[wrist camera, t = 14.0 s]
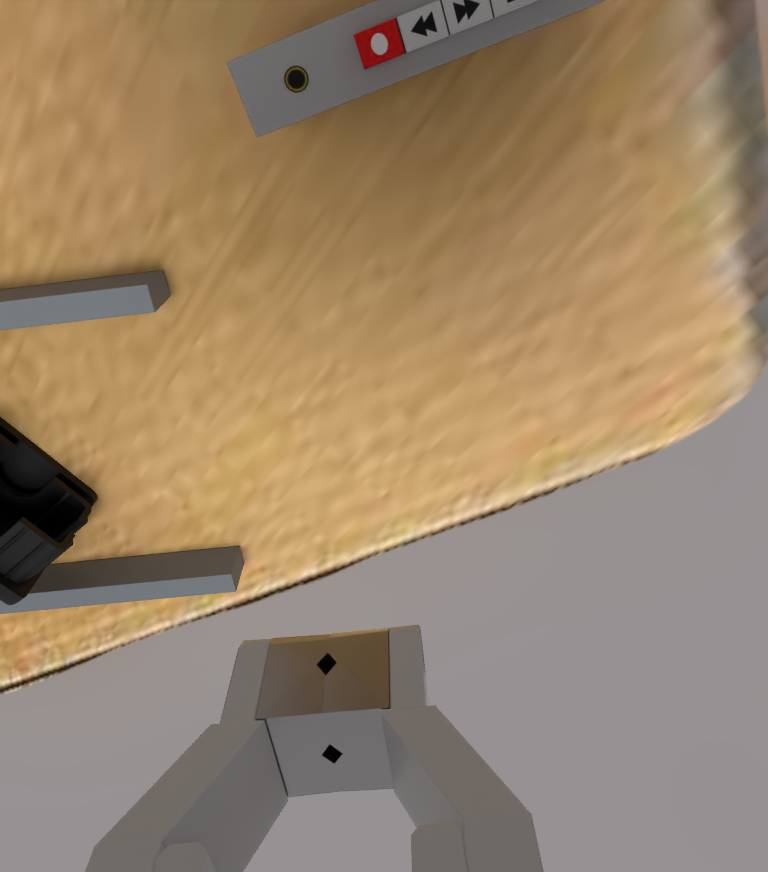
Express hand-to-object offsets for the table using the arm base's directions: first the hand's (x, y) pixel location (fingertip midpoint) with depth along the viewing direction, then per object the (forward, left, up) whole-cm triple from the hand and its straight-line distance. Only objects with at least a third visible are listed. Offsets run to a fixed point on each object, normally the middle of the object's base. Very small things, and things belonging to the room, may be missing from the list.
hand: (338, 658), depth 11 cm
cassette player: (-10, +4, -29) cm, 31 cm away
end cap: (+12, -25, -29) cm, 40 cm away
